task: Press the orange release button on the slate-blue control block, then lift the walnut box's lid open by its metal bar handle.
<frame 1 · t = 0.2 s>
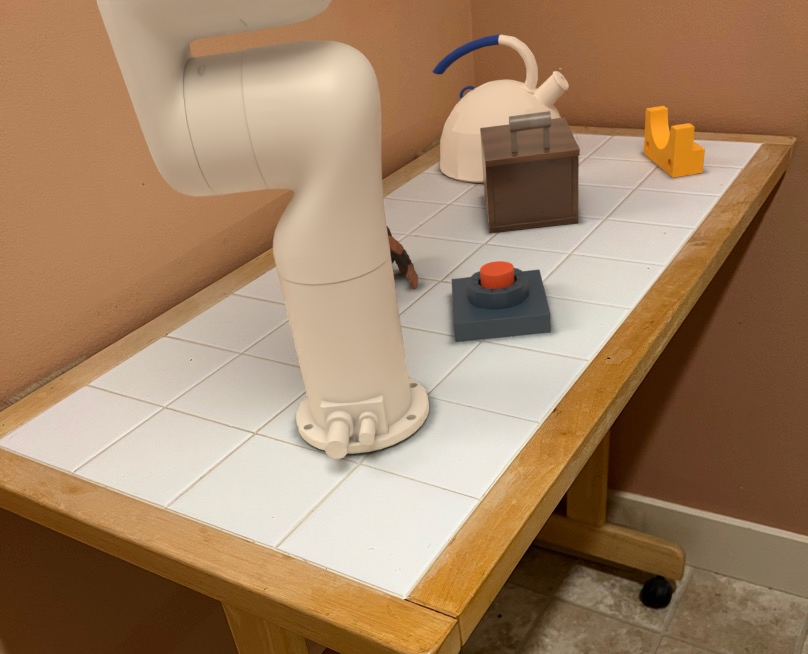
control block: (499, 313, 89), on the table
pipe clamp: (671, 164, 119), on the table
lidded box: (529, 209, 112), on the table
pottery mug: (379, 286, 99), on the table
box lid: (526, 124, 105), point 11 cm above the table, hinge at 0.0°
kettle: (503, 162, 129), on the table
release button: (497, 275, 87), point 4 cm above the table, slide at 0.1 cm
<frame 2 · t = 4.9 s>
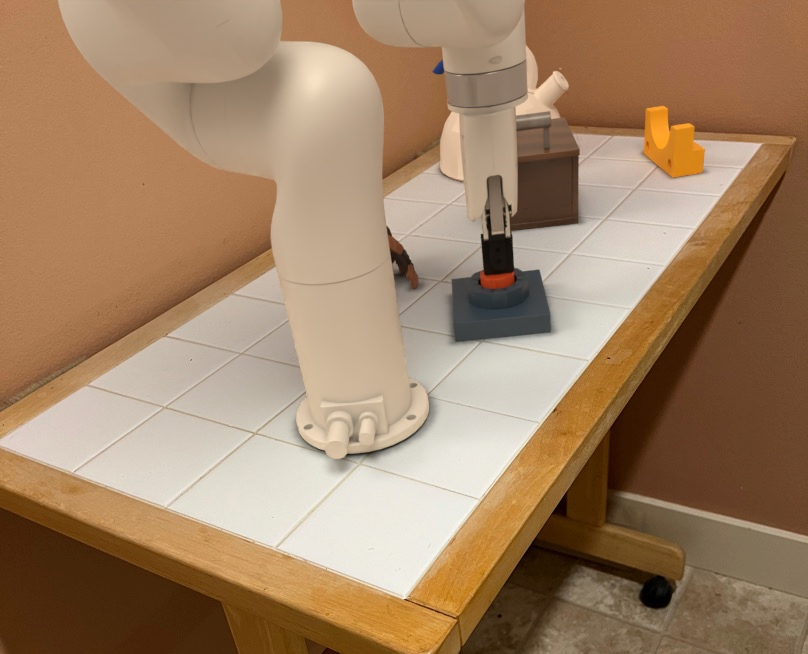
hand: (498, 270, 86), 5 cm above the table, tool pointing down, fingers closed
release button: (497, 279, 87), point 4 cm above the table, slide at -0.4 cm, touching gripper
everything else where it was.
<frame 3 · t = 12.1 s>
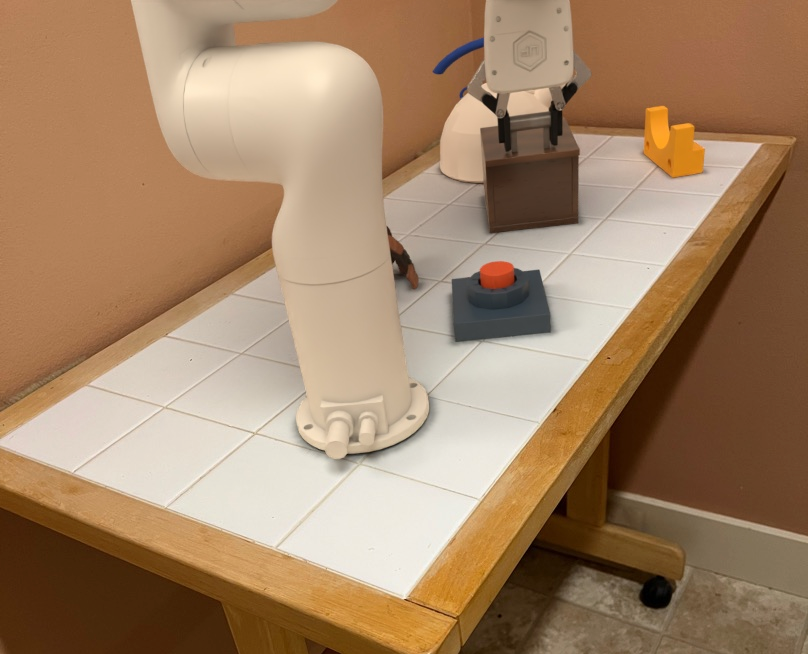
hand: (530, 143, 101), 10 cm above the table, tool pointing down, fingers closed on box lid, 5 cm apart
box lid: (526, 124, 105), point 11 cm above the table, hinge at 0.0°, touching gripper
release button: (497, 275, 87), point 4 cm above the table, slide at 0.1 cm
everything else where it was.
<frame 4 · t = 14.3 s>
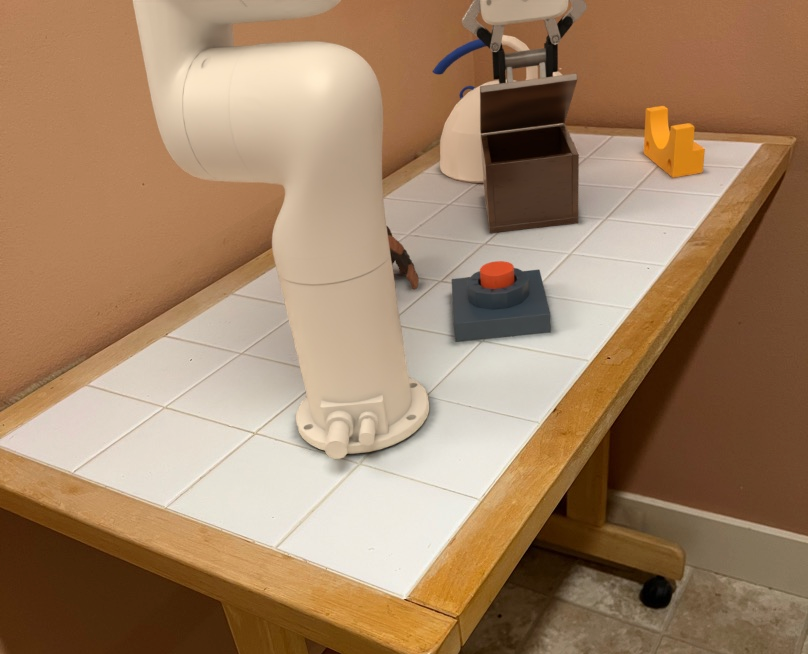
hand: (525, 80, 101), 17 cm above the table, tool pointing down, fingers closed on box lid, 5 cm apart
box lid: (523, 88, 104), point 15 cm above the table, hinge at 33.8°, touching gripper
everything else where it was.
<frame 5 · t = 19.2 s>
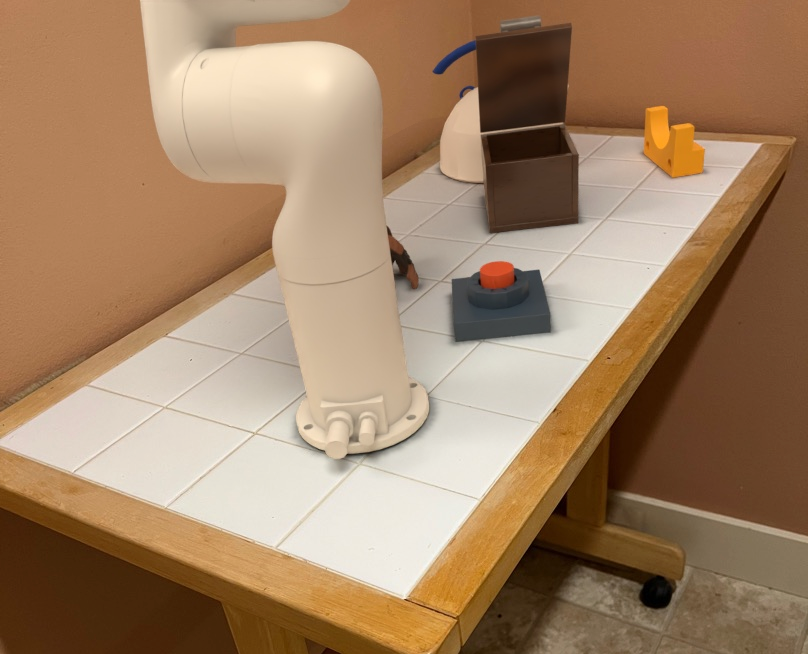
box lid: (521, 69, 106), point 17 cm above the table, hinge at 61.2°
everything else where it was.
at the end: release button pushed in 1.1 cm at the most during the clip, back to where it started at the end; release button slide at 0.1 cm; box lid at +61° (first picture: +0°) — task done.
